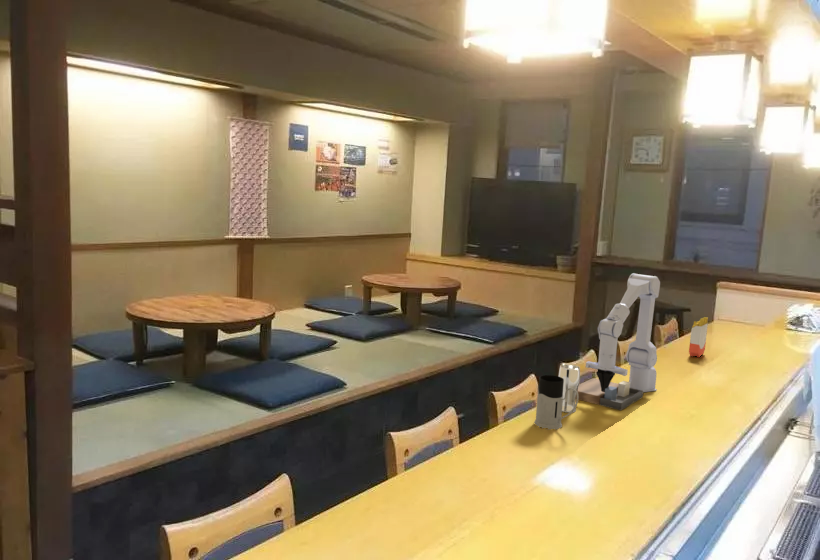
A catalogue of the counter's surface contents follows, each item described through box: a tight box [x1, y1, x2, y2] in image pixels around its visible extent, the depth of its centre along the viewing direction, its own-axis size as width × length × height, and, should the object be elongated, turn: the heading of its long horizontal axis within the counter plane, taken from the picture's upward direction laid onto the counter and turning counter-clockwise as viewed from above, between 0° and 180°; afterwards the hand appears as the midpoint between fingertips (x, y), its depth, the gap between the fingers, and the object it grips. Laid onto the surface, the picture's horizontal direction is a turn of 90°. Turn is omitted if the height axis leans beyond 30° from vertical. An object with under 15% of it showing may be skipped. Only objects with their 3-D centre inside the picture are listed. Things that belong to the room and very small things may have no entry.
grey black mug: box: [533, 374, 579, 430], centre depth 213 cm, size 9×14×15 cm, turn 44°
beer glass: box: [558, 363, 581, 414], centre depth 230 cm, size 7×7×15 cm
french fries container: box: [688, 316, 709, 358], centre depth 314 cm, size 5×11×18 cm, turn 142°
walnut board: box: [576, 377, 618, 406], centre depth 249 cm, size 12×20×3 cm, turn 141°
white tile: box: [617, 380, 630, 397], centre depth 247 cm, size 4×4×2 cm
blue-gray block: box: [604, 386, 617, 401], centre depth 240 cm, size 4×4×2 cm
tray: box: [599, 388, 644, 411], centre depth 243 cm, size 8×20×2 cm, turn 141°
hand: (604, 391), depth 241 cm, fingers closed
